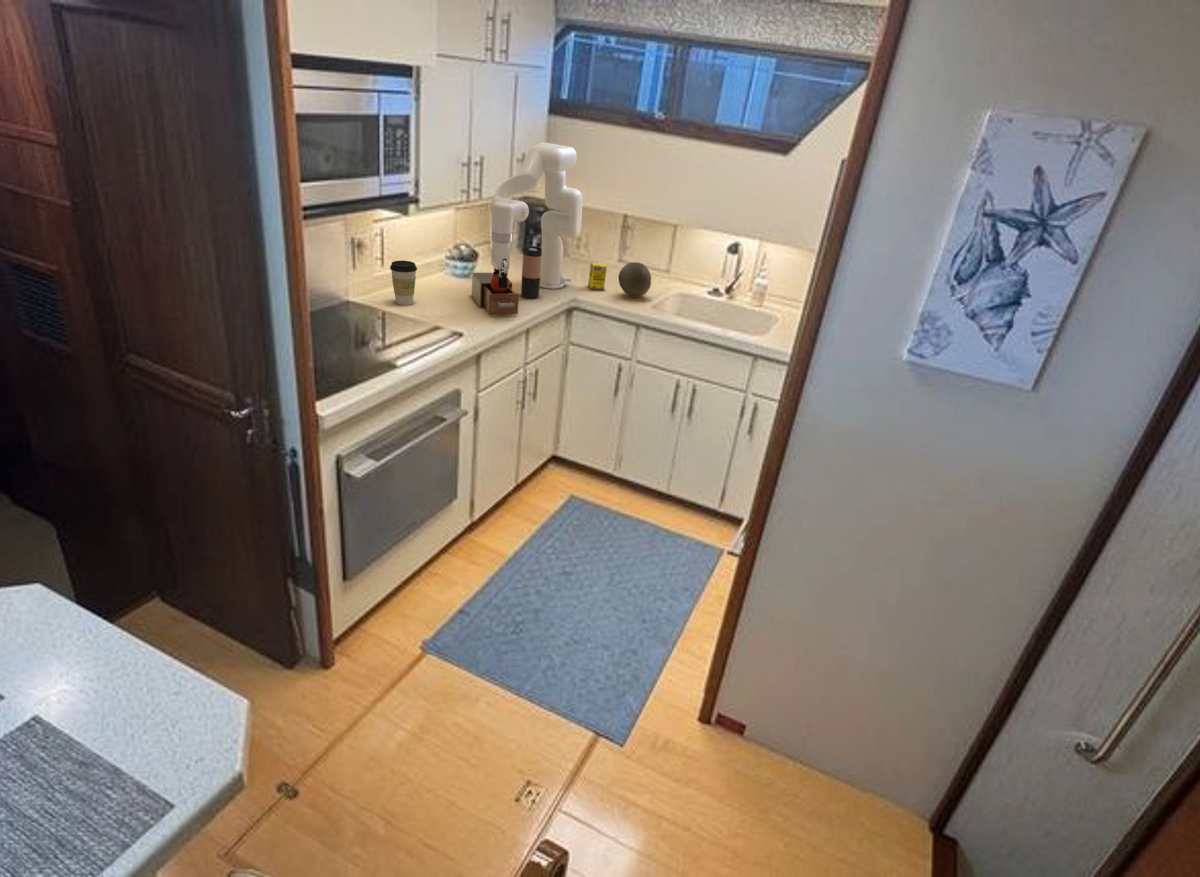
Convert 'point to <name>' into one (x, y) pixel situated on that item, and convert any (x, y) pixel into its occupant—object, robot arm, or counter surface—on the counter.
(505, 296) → the drawer
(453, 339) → the counter surface
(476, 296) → the cabinet
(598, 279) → the supplement box
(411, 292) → the coffee cup
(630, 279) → the dark grey ball
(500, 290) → the fruit
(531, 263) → the travel mug
